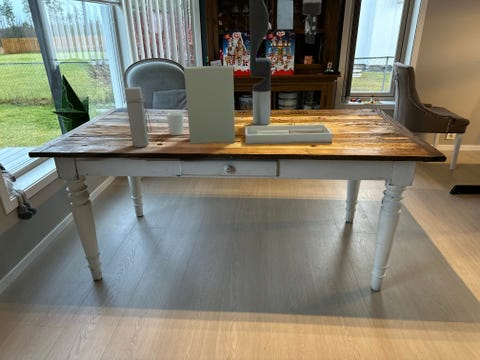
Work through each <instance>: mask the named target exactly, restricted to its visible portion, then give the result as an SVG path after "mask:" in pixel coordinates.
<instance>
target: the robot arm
mask: <svg viewBox="0 0 480 360" xmlns="http://www.w3.org/2000/svg"><path fill="white" fill-rule="evenodd" d="M248 1H249V3H248V5H249V37H250V38H249V40H250V43H249V44H250V46H249V49H250V50H249V75H250V77H251V78H263V79H262V80H261V81H260V82H257V83H255V84H254V85H252V124H253V125H255V126H267V125H269V123H271V79H272V78H271V77H272V60H271V59H270V58H269V57H257V54H258V51H259V48H260V46H261V44H262V43H263V40H264V39H265V37H266V36H267V34H268V31H269V22H270V21H269V18H270V17H269V12H268V8H267V6H266V3H265V2H264V0H248ZM321 12H322V0H302V15H303V16H307V17H306V18H305V25H304V34H305V43H306V44H309V45H314V44H315V39H316V38H315V37H316V34H317V32H318V29H317V28H318V16H317V15H321ZM266 124H267V125H266Z"/></svg>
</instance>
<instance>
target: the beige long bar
mask: <svg viewBox="0 0 480 360" xmlns="http://www.w3.org/2000/svg"><path fill="white" fill-rule="evenodd" d="M310 133H323V129H289V130H272V131H257V135H263V134H310Z"/></svg>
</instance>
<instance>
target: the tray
mask: <svg viewBox="0 0 480 360" xmlns="http://www.w3.org/2000/svg"><path fill="white" fill-rule="evenodd" d="M244 127H245V129H244V132H245V133H244V136H245V145H268V144H270V145H271V144H272V145H274V144H312V143H313V144H315V143H316V144H318V143H333V136H334V133H333V132H332V131H331V130H330V129H329V127H328V126H326V124H287V125H285V124H284V125H283V124H282V125H276V124H275V125H245V126H244ZM289 129H323V133H310V134H263V135H257V131H272V130H289Z"/></svg>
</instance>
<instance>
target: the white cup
mask: <svg viewBox="0 0 480 360" xmlns="http://www.w3.org/2000/svg"><path fill="white" fill-rule="evenodd" d="M166 119H167V125H168V132H169V134H170V135H171V136H180V135H181V136H182V135H183V134H184V112H182V111H172V112H171V111H169V112H168V113H166Z"/></svg>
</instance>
